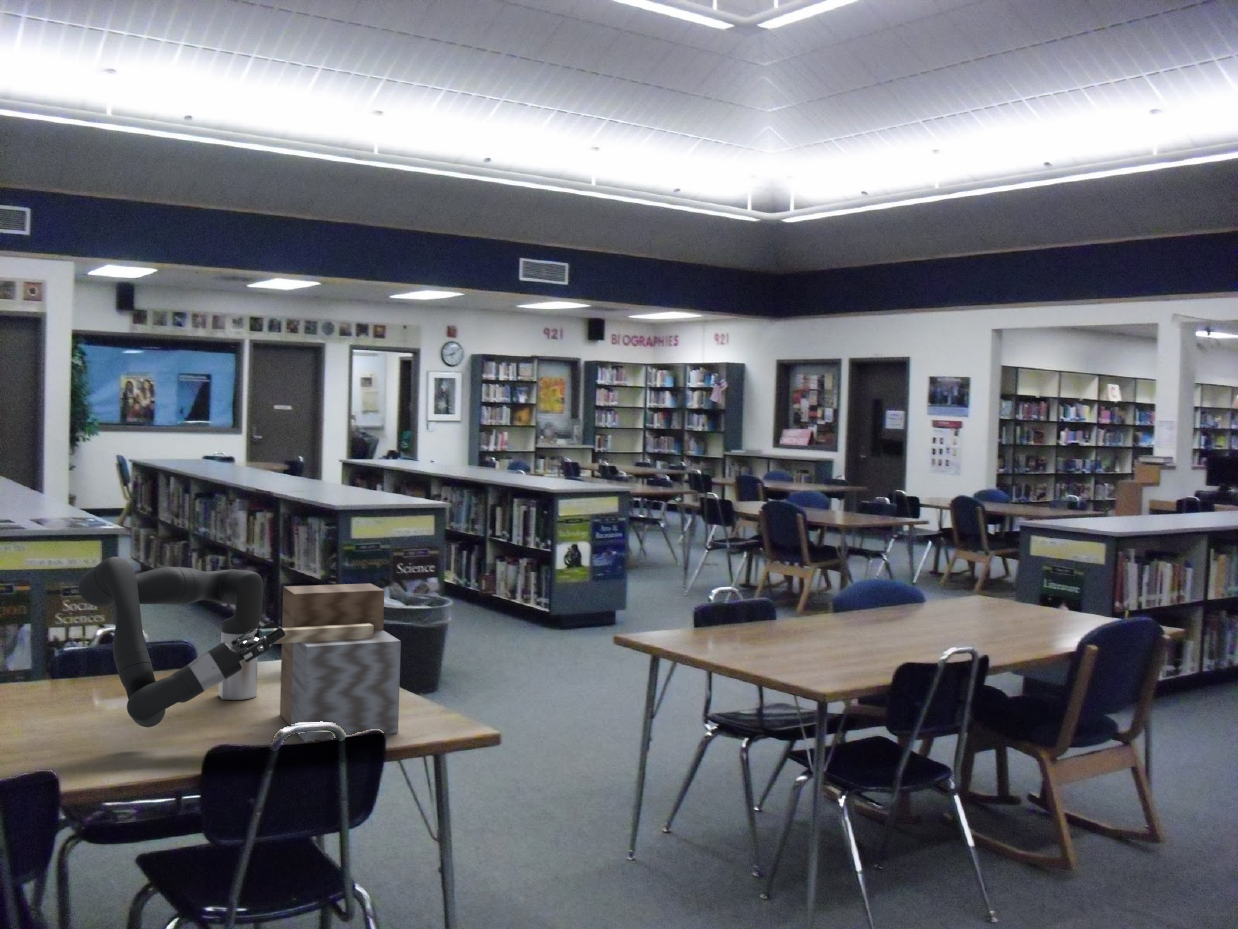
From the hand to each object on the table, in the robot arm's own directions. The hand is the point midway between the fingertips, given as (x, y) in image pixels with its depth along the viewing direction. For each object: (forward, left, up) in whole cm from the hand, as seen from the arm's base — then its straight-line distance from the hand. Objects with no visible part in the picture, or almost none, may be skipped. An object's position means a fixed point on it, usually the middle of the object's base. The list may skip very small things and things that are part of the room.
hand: (279, 627), depth 265 cm
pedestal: (+16, +6, -25) cm, 31 cm away
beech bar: (+9, 0, -3) cm, 9 cm away
